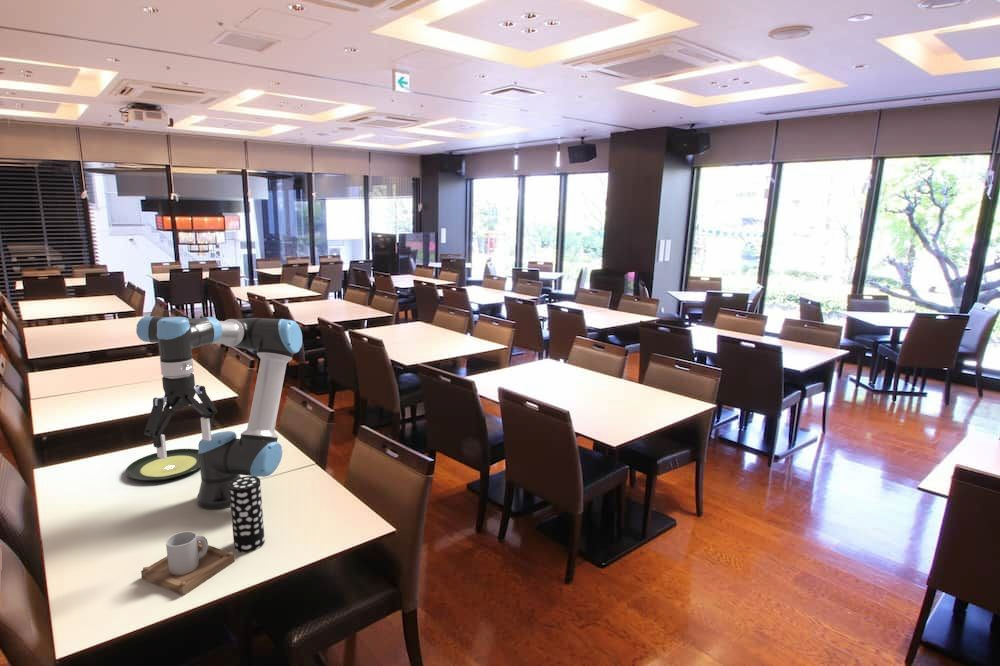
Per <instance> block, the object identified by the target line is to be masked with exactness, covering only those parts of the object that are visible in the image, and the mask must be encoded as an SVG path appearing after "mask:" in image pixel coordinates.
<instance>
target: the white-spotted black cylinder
mask: <svg viewBox="0 0 1000 666" xmlns="http://www.w3.org/2000/svg"><path fill="white" fill-rule="evenodd" d="M240 477H241V478H237V479H235V480H233V481H232V482H230V484H229V492H230V503H231V506H230V512H231V513H230V514H231V515H230V516H231V525H232V526H231V527H232V537H233V547H234V550H235V551H236V552H239V553H250V552H255V551H257V550H258V549H260V548H262V547H263V545H265V542H266V541H265V540H266V539H265V530H264V529H265V527H264V513H263V500H262V486H261V485H262V484H261V479H260V477H259V476H258V477H255V476H248V475H245V476H240Z"/></svg>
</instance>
